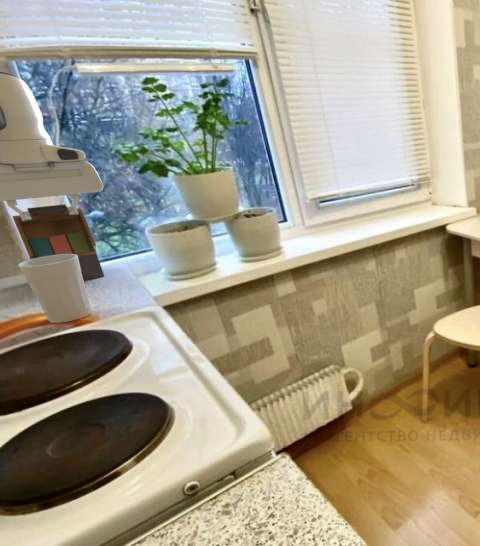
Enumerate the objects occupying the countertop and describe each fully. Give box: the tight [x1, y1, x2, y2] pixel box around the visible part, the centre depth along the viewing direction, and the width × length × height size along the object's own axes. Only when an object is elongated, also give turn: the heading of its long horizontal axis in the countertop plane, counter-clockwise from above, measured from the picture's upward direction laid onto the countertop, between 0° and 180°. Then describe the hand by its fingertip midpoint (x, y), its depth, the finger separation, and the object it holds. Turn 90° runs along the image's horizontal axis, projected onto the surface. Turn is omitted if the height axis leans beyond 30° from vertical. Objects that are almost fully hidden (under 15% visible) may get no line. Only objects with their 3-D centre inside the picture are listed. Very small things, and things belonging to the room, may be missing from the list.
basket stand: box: [28, 253, 105, 281], centre depth 105 cm, size 11×10×6 cm
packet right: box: [67, 232, 90, 254], centre depth 103 cm, size 3×5×1 cm
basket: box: [11, 203, 98, 260], centre depth 98 cm, size 11×10×10 cm
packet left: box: [29, 237, 54, 258], centre depth 98 cm, size 3×5×1 cm
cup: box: [17, 254, 93, 324], centre depth 83 cm, size 8×8×12 cm
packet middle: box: [48, 235, 73, 255], centre depth 100 cm, size 3×5×1 cm
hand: (51, 217), depth 94 cm, fingers closed on basket, 6 cm apart
